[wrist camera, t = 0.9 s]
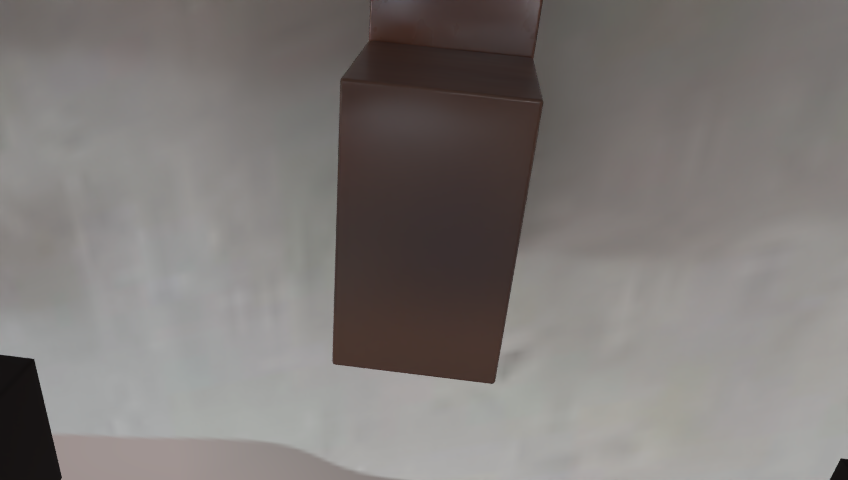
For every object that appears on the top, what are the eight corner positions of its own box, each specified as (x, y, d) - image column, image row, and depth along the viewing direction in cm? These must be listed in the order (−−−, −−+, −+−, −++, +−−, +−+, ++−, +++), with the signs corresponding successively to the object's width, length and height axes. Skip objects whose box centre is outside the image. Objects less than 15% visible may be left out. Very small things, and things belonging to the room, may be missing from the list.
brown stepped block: (389, -53, 21) (342, -18, 14) (538, -38, 21) (560, 4, 14) (370, 283, 26) (330, 419, 20) (486, 297, 26) (485, 439, 20)
